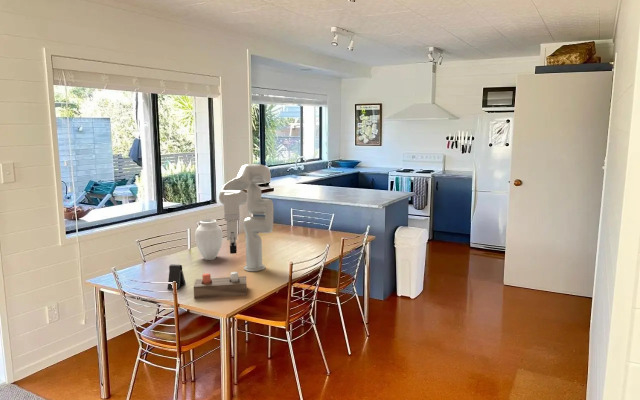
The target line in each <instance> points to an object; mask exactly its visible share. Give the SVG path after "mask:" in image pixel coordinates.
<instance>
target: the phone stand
mask: <svg viewBox="0 0 640 400" xmlns="http://www.w3.org/2000/svg"><path fill="white" fill-rule="evenodd" d="M184 275H185V274H184V271H183V265H182V264H169V266H168V282H173V281H176V283H177V289H176V290H180V289H181V288H182V287H184V286H185V285H186V280H185V276H184ZM167 290H173V289H172V285H171V284H168V283H167Z"/></svg>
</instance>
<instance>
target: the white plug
mask: <svg viewBox="0 0 640 400" xmlns="http://www.w3.org/2000/svg"><path fill="white" fill-rule="evenodd" d="M230 277H231V282H239V280H238V277H239V271H231V272H230Z"/></svg>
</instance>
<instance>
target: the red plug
mask: <svg viewBox="0 0 640 400" xmlns="http://www.w3.org/2000/svg"><path fill="white" fill-rule="evenodd" d="M211 278H212V277H211V273H202V279H203V284H211Z"/></svg>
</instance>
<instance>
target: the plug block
mask: <svg viewBox="0 0 640 400" xmlns="http://www.w3.org/2000/svg"><path fill="white" fill-rule="evenodd" d="M238 280H239V282H231V277H229V276H227V277H211V284H203V278H196V279H195V281H194V284H193V299H204V298H205V299H208V298H218V297H219V298H221V297H235V296H236V297H237V296H247V295H248V294H247V293H248V290H247V289H248V288H247V286H248V285H247V275H243V276H241V275H240V276H238Z"/></svg>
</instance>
